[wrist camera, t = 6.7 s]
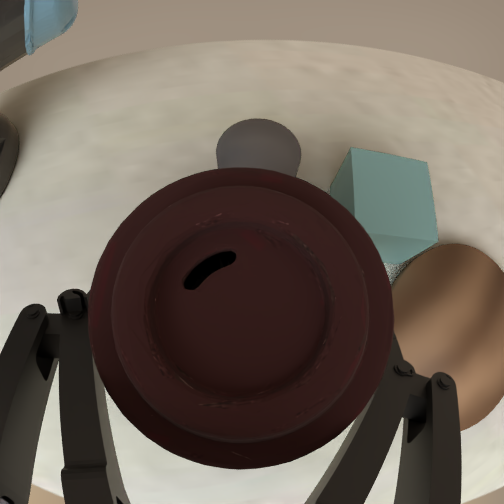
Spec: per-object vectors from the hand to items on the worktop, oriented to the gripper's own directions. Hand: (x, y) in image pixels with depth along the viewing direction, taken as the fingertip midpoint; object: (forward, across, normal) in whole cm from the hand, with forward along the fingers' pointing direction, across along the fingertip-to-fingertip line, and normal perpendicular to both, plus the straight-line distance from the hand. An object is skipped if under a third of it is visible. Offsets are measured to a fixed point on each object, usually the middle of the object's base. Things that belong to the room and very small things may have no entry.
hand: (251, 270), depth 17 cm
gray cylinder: (+9, -1, +1) cm, 9 cm away
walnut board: (+3, +18, -6) cm, 19 cm away
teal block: (+9, +8, 0) cm, 12 cm away
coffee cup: (+2, 0, -6) cm, 7 cm away
